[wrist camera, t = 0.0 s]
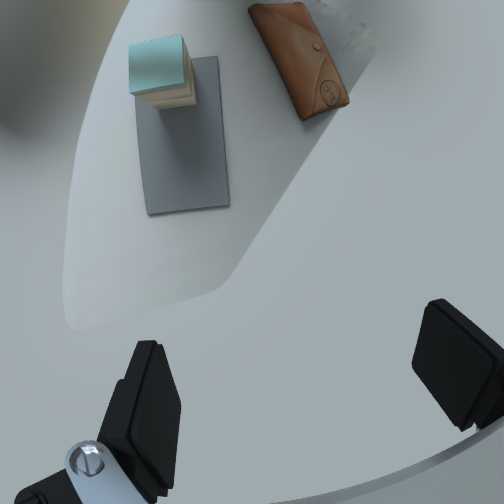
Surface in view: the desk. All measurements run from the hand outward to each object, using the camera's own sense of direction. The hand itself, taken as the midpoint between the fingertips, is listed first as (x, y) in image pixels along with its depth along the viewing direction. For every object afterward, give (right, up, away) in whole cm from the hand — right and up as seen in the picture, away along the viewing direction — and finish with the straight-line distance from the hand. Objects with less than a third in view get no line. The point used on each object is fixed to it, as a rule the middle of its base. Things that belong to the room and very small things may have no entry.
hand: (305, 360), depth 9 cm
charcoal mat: (-11, +19, +26) cm, 34 cm away
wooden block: (-11, +24, +23) cm, 35 cm away
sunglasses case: (+5, +30, +24) cm, 39 cm away
